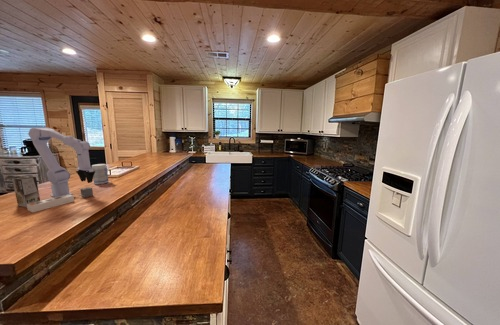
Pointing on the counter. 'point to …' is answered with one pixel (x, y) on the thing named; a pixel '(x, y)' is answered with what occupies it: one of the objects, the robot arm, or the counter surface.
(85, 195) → the charger
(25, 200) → the coffee box
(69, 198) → the power strip
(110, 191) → the counter surface
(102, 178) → the supplement tub
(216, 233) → the counter surface
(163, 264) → the counter surface
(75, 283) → the counter surface
